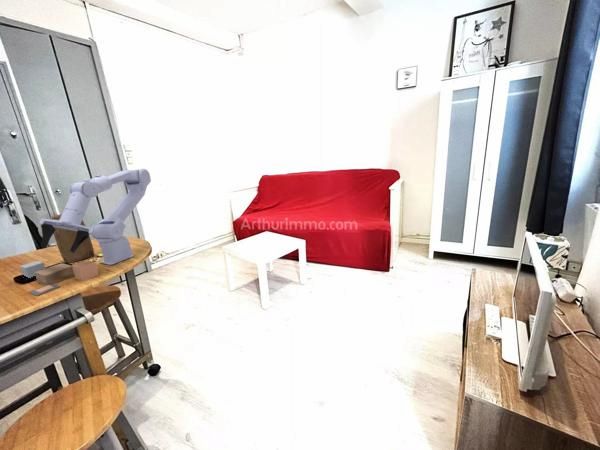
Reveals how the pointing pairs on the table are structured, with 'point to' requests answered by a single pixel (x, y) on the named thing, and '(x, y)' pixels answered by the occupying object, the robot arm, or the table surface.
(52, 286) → the card
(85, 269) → the terracotta cube
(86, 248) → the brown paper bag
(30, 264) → the grey cube
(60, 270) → the walnut base
